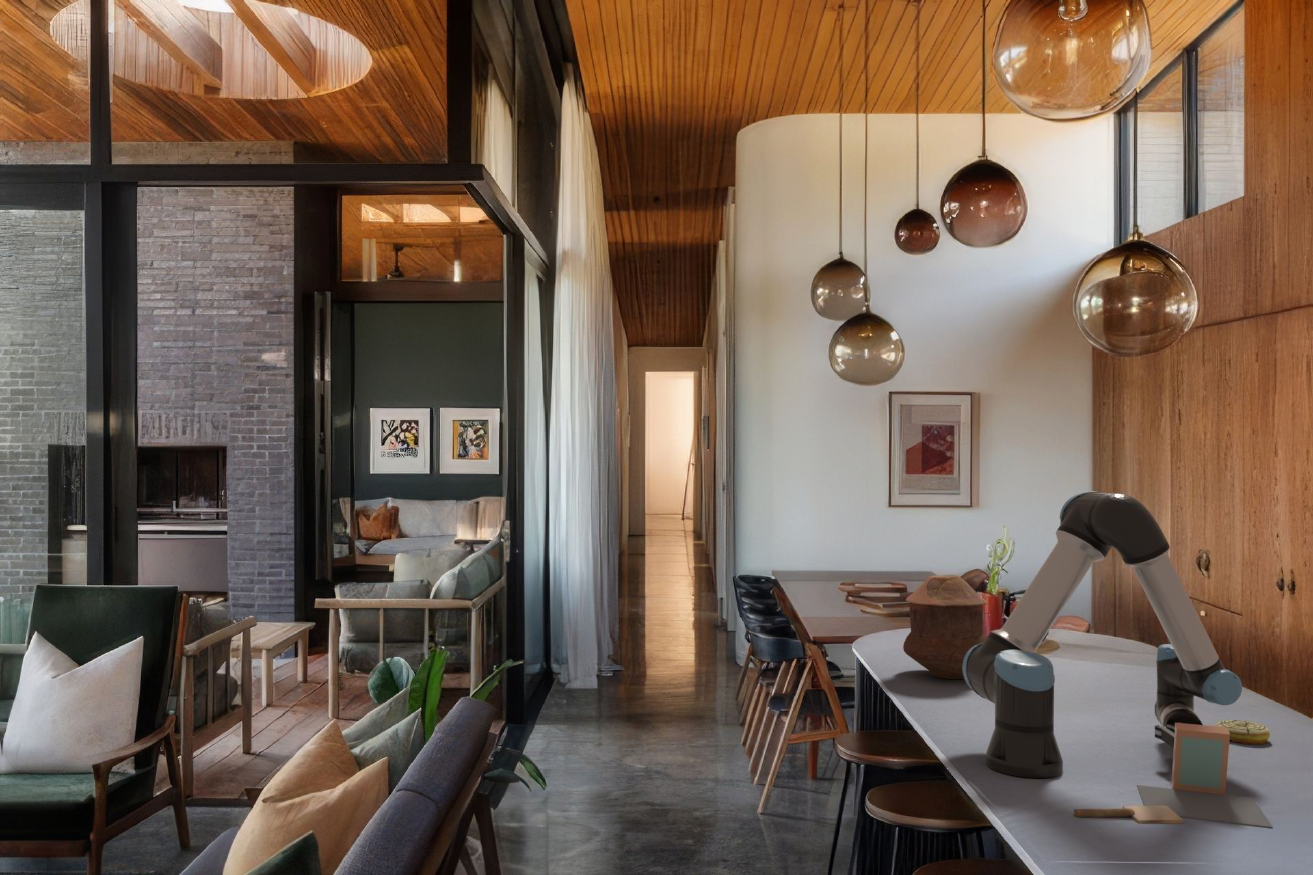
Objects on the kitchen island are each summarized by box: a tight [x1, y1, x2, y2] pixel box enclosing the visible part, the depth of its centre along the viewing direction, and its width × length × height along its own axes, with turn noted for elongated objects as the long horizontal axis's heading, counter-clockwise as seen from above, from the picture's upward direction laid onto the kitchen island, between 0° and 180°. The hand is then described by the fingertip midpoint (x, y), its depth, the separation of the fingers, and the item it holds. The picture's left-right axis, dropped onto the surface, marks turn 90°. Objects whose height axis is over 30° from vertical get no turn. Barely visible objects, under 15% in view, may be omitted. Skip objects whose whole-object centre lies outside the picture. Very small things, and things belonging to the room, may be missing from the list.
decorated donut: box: [1215, 719, 1271, 745], centre depth 231 cm, size 10×11×4 cm
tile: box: [1171, 723, 1231, 795], centre depth 192 cm, size 9×2×14 cm, turn 70°
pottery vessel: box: [902, 574, 989, 680], centre depth 295 cm, size 26×26×30 cm
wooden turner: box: [1073, 805, 1184, 824], centre depth 180 cm, size 18×6×1 cm, turn 90°
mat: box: [1136, 784, 1274, 829], centre depth 185 cm, size 20×16×1 cm
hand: (1201, 755), depth 194 cm, fingers closed
